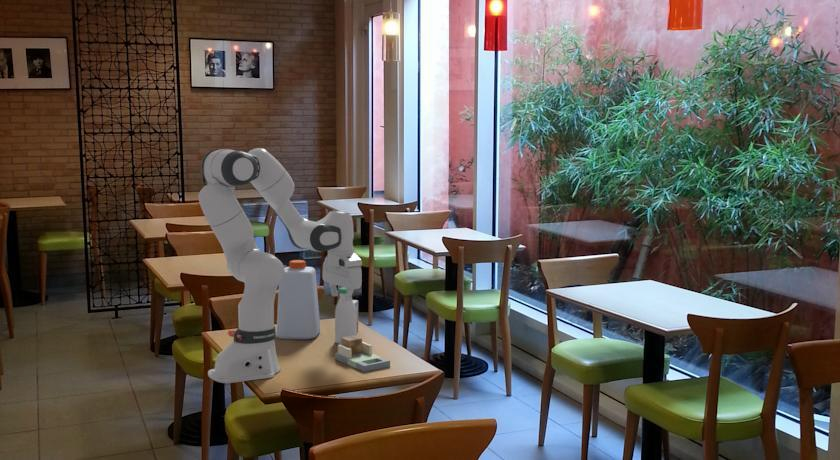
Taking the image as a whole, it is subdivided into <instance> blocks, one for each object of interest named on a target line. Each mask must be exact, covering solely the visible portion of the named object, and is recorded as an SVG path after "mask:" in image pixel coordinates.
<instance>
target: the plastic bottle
mask: <svg viewBox="0 0 840 460" xmlns="http://www.w3.org/2000/svg"><path fill="white" fill-rule="evenodd" d="M306 263H307V262H306V261H305V260H302V259H293V260H290V261H289V263H288V264H289V265H288V266H285V267H284V269H285V273H284V277H283V280H282V281H281V283H280V284H279V285H278V295H277V311H276V313H277V314H276V317H277V318H276V329H275V330H276V338H278V339H280V340H290V339H291V340H295V341H296V340H299V341H300V340H301V341H302V340H303V341H304V340H306V341H307V340H313V339H315V338H316V337H318V335H319V333H320V332H321V321H320V310H319V309H320V308H319V298H318V285H317V274H316V273H317V272H316V269H315V268H314V267H313V266H307V264H306Z"/></svg>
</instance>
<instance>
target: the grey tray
mask: <svg viewBox="0 0 840 460" xmlns="http://www.w3.org/2000/svg"><path fill="white" fill-rule="evenodd" d="M334 360H336V361H339V362H341V363H343V364H346V365H347V366H350V367H352V368H354V369H357V370H358V371H361V372H364V373H366V372H371V370H372V371H376V370H380V369H381V370H382V369H385V367H386V368H390V367H391V360H389V359H386V358H385V357H381V356H379V355H377V354H375V353H373V345H372V344H370V343H367V342H364V341H362V353H359V354H354V355H352V349H350V348H348V347H345V346H343V345H342V344H337V352H336V353H334Z"/></svg>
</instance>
